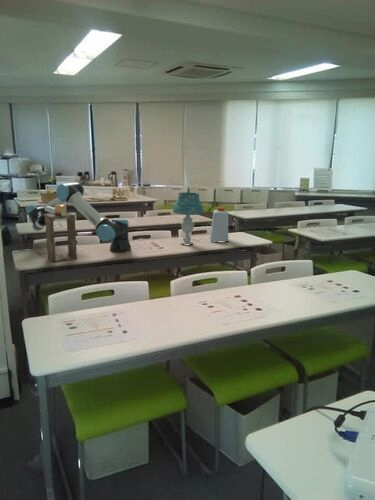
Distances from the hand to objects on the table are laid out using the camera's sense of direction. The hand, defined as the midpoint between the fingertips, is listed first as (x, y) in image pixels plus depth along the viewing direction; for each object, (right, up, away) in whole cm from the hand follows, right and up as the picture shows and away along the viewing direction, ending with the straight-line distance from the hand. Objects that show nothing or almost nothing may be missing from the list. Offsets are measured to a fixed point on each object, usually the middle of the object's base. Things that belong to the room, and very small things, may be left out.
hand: (50, 212), depth 255 cm
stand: (+11, -32, -9) cm, 35 cm away
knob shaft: (+8, -2, -14) cm, 16 cm away
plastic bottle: (+121, -18, +53) cm, 134 cm away
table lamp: (+94, -21, +39) cm, 104 cm away
